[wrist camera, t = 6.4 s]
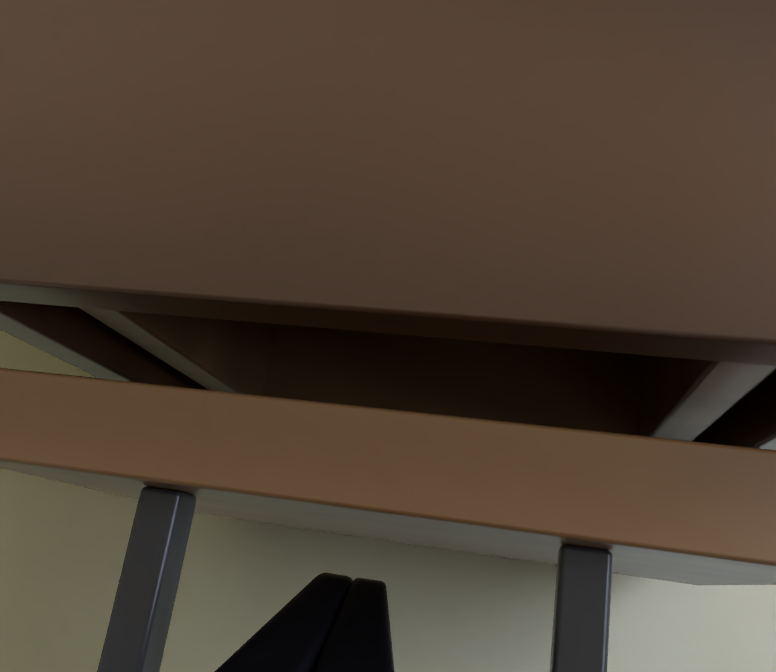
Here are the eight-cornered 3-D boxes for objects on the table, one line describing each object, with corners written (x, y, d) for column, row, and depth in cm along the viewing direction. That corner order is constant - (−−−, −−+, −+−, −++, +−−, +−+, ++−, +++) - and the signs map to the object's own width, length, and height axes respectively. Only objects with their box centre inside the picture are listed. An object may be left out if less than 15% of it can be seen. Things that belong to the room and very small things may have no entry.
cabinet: (721, 495, 17) (1011, 361, 7) (209, 433, 19) (-120, 272, 9) (725, 9, 21) (910, -517, 11) (301, 12, 23) (139, -410, 13)
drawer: (696, 843, 14) (946, 1209, 6) (152, 728, 16) (-222, 870, 8) (708, 83, 19) (849, -297, 11) (292, 78, 21) (150, -238, 13)
